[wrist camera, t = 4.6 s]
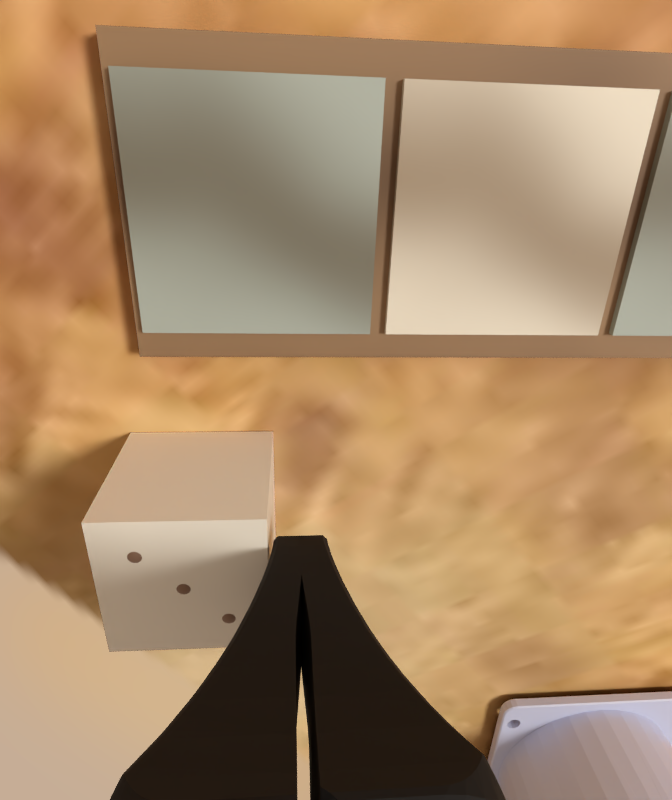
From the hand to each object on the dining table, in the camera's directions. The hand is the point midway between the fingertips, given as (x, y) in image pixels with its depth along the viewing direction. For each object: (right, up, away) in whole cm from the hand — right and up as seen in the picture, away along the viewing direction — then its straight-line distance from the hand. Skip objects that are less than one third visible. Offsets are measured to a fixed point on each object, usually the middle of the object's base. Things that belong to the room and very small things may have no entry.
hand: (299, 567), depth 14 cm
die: (-3, +1, +3) cm, 4 cm away
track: (+8, +9, 0) cm, 12 cm away
